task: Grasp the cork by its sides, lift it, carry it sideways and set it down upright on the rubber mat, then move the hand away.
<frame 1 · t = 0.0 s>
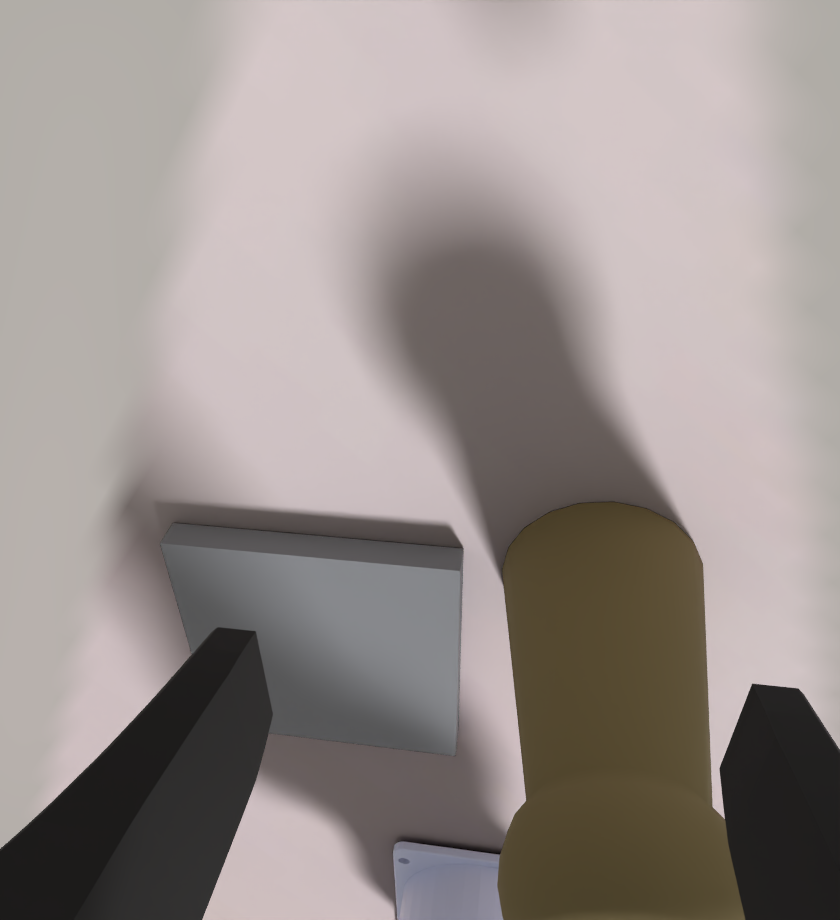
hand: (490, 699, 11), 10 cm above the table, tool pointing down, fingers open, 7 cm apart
mat: (327, 636, 26), on the table
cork: (599, 573, 23), on the table
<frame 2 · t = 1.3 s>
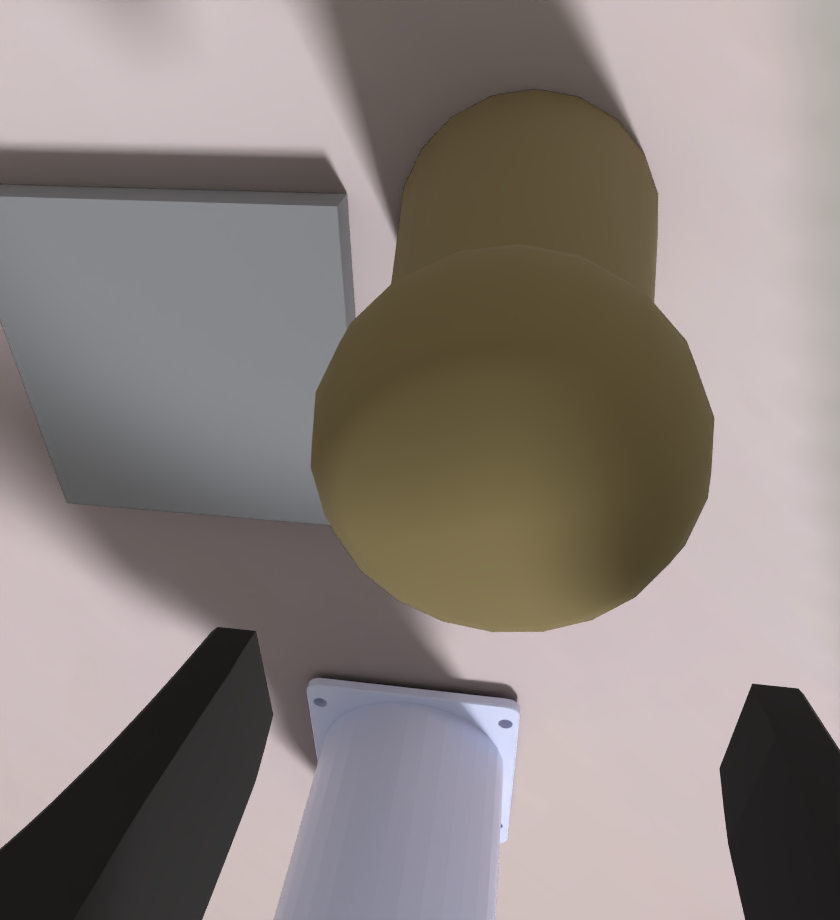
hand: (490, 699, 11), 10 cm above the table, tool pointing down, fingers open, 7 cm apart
mat: (194, 362, 21), on the table
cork: (525, 228, 18), on the table
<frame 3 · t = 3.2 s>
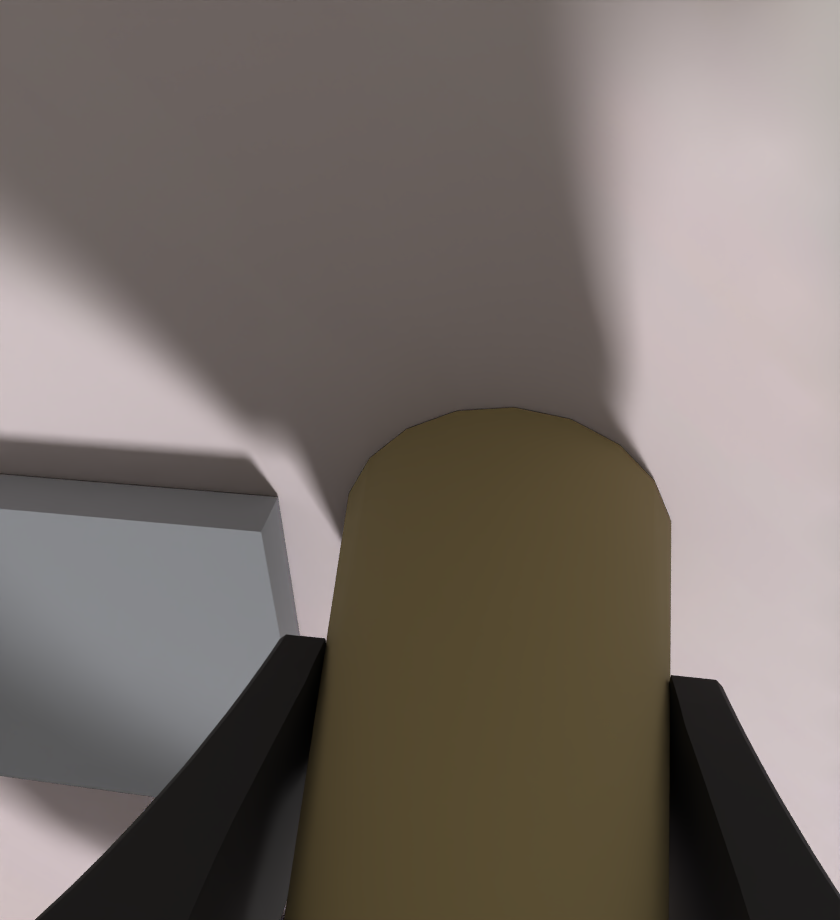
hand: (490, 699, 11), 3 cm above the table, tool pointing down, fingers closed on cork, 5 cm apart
mat: (106, 641, 17), on the table
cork: (503, 539, 14), on the table, touching gripper
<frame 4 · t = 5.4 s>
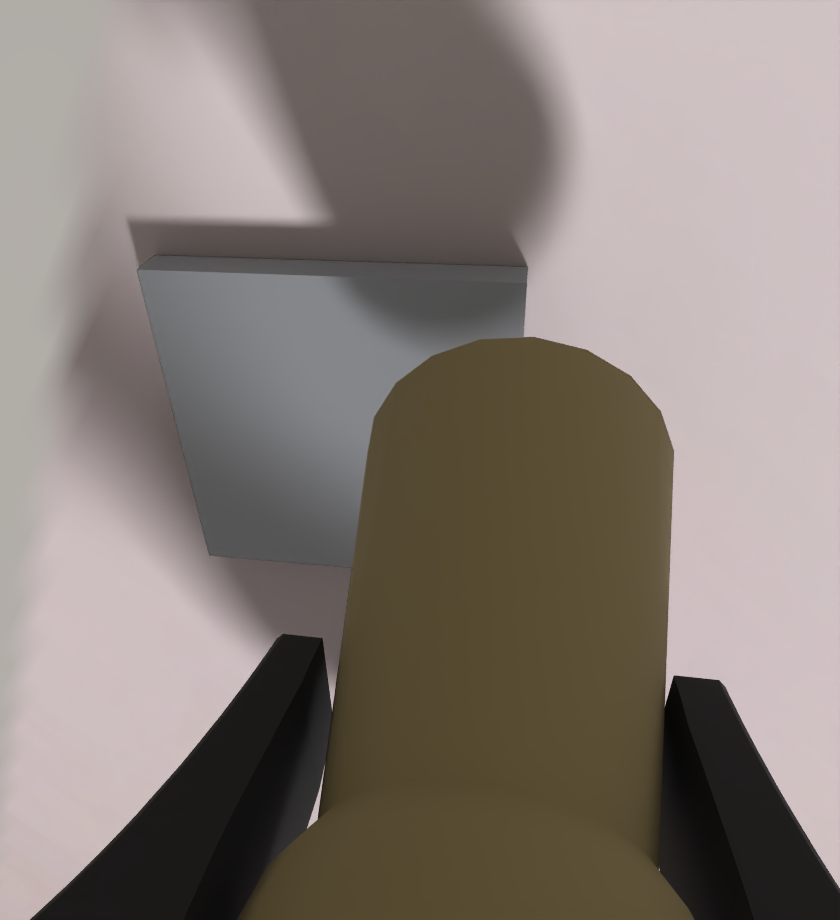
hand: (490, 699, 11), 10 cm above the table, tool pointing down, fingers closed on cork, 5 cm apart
mat: (349, 422, 21), on the table
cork: (516, 465, 15), point 5 cm above the table, touching gripper
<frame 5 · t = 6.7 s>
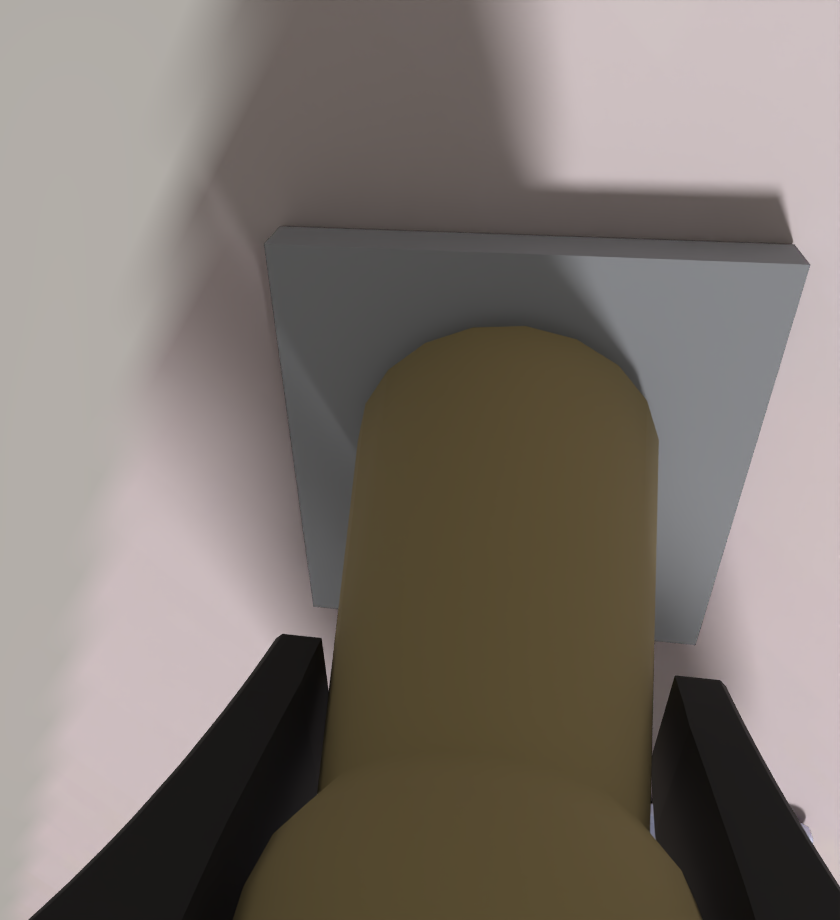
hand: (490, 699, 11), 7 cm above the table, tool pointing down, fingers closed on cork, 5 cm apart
mat: (511, 445, 17), on the table
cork: (504, 453, 15), point 1 cm above the table, touching gripper
when the fingers open (5 cm above the table, at t = 7.6 s): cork stays where it is, resting on mat.
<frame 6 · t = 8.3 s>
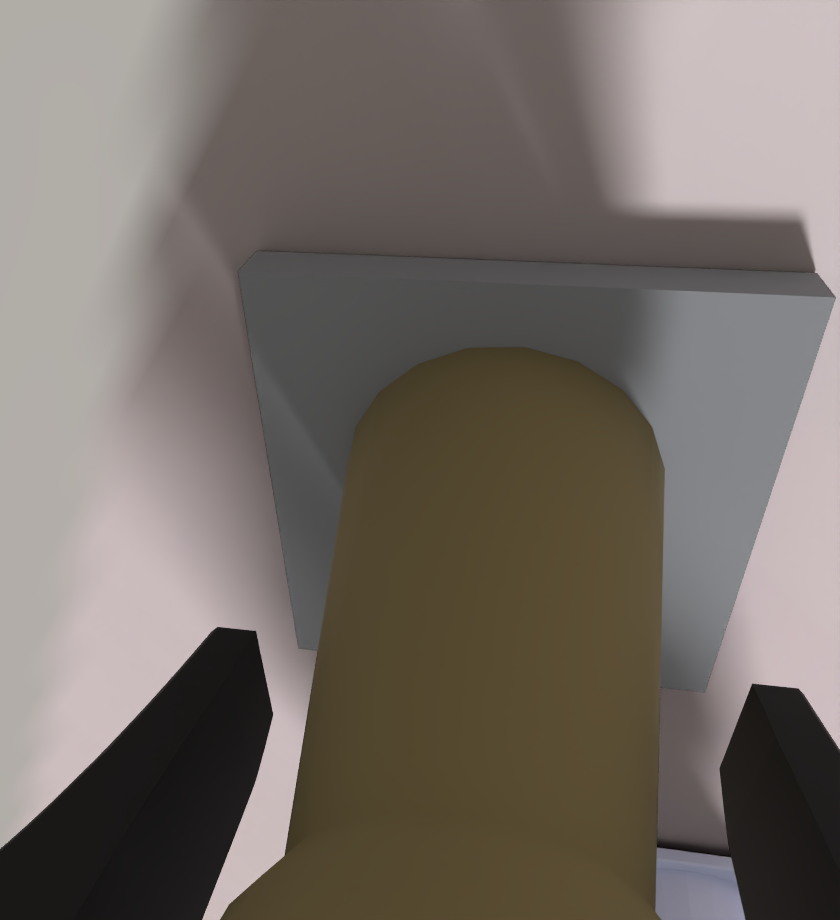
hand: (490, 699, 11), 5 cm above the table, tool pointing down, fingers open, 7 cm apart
mat: (508, 482, 15), on the table
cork: (501, 481, 14), point 1 cm above the table, touching mat
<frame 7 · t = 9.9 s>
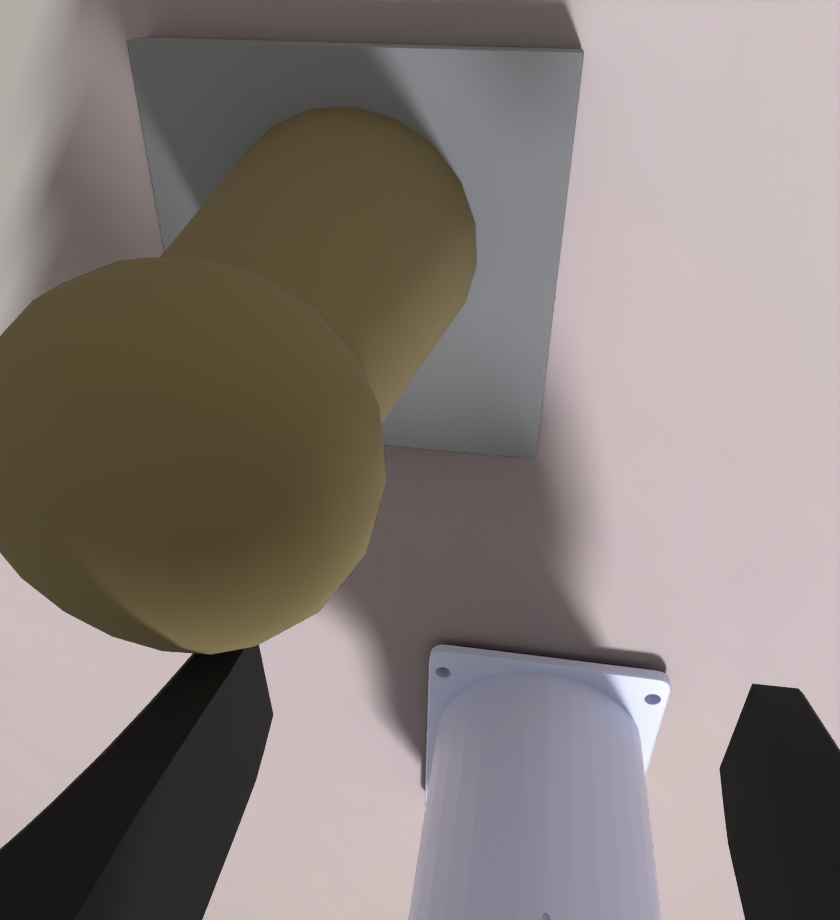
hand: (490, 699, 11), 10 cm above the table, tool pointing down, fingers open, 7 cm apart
mat: (363, 260, 19), on the table
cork: (350, 244, 18), point 1 cm above the table, touching mat
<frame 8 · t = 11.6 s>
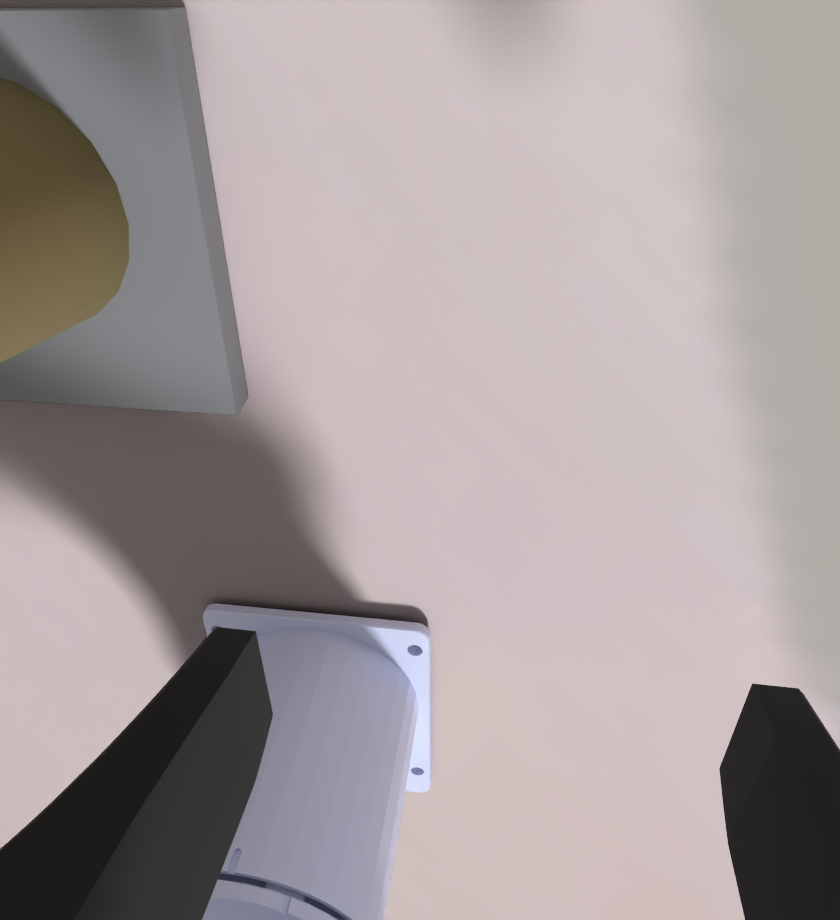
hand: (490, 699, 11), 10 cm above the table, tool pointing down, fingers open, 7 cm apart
mat: (43, 224, 19), on the table
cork: (13, 208, 18), point 1 cm above the table, touching mat
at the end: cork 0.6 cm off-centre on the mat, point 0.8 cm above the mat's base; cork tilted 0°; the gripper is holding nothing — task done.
